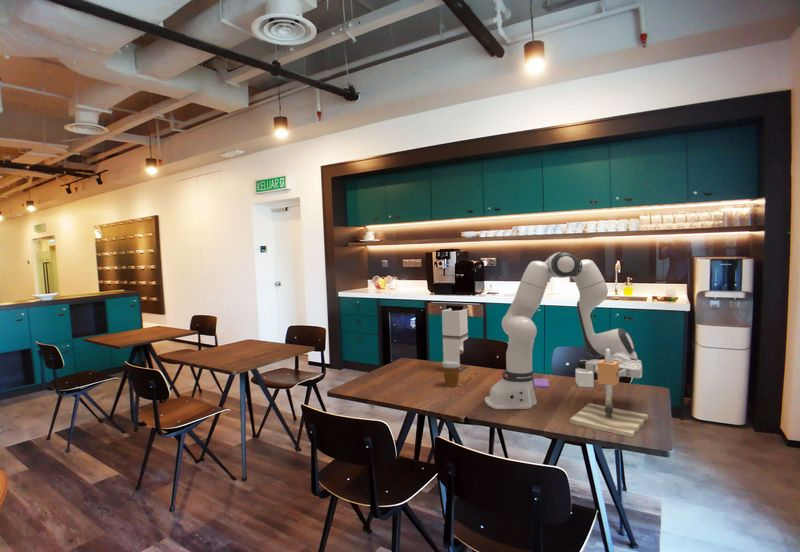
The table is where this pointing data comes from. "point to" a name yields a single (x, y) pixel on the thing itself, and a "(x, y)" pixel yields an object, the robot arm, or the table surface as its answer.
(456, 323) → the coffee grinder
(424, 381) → the table surface
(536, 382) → the sponges
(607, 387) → the steel pipe
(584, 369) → the medicine bottle
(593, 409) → the pipe stand
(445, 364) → the disposable coffee cup
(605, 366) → the sleeve
